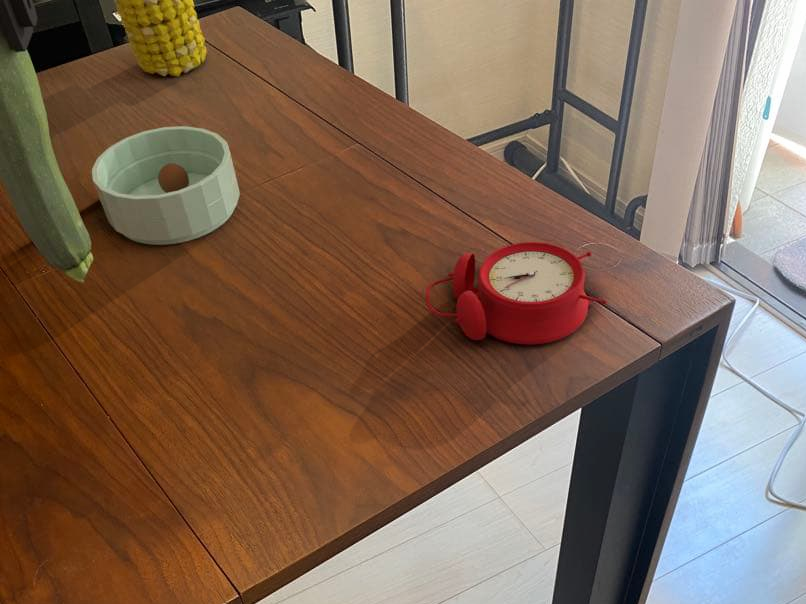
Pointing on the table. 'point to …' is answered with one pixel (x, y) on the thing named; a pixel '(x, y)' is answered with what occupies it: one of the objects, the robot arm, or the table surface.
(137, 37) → the food
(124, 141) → the bowl
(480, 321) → the alarm clock
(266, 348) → the table surface
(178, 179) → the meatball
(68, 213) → the vegetable
